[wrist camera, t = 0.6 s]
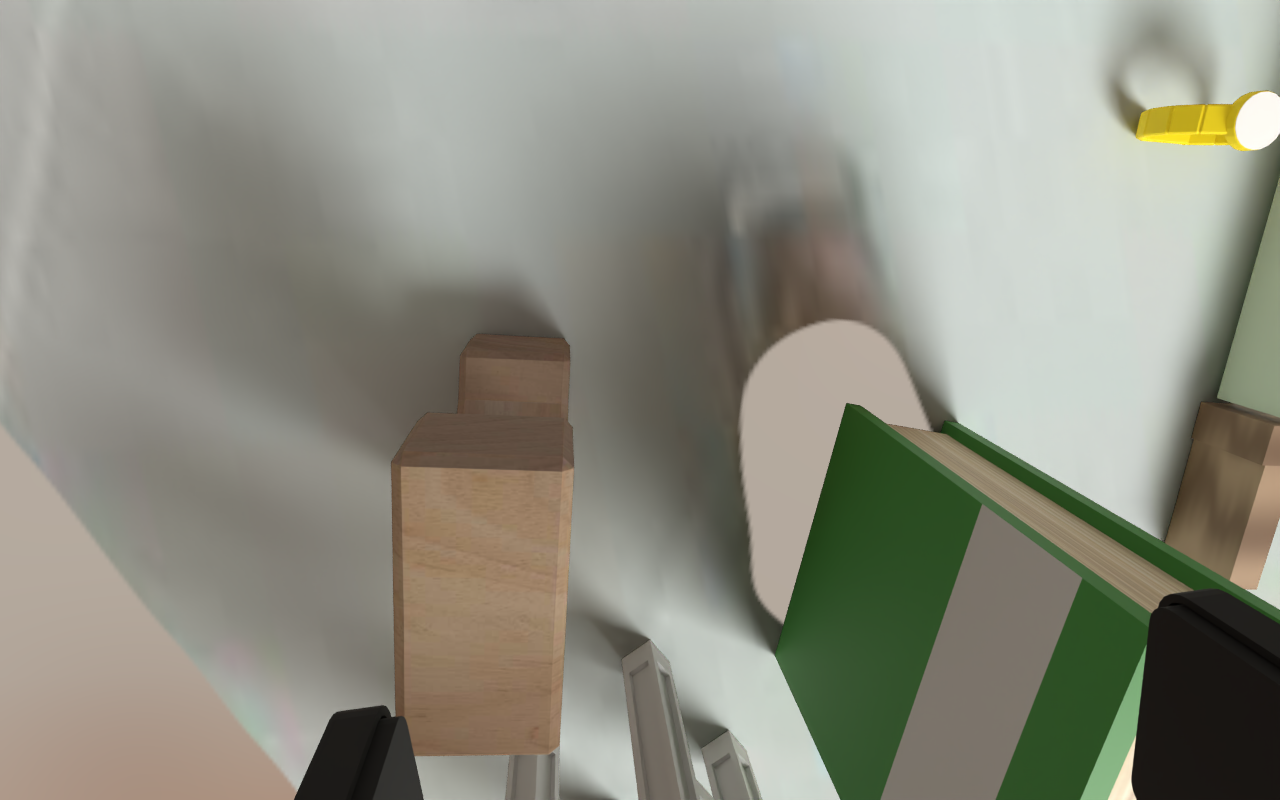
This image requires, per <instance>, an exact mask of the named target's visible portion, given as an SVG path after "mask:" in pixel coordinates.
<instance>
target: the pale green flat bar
mask: <svg viewBox="0 0 1280 800" xmlns="http://www.w3.org/2000/svg"><path fill="white" fill-rule="evenodd" d="M1217 398H1219V399H1222V400H1225V401H1228V402H1231V403H1235V404H1238V405H1241V406H1244V407H1247V408H1251V409H1254V410H1257V411H1260V412H1263V413H1267V414H1270V415H1273V416H1276V417H1279V418H1280V177H1279V181H1278V184H1277V188H1276V191H1275V195H1274V198H1273V202H1272V206H1271V209H1270V213H1269V216H1268V220H1267V223H1266V227H1265V230H1264V234H1263V237H1262V241H1261V244H1260V248H1259V251H1258V255H1257V258H1256V262H1255V265H1254V269H1253V272H1252V276H1251V279H1250V283H1249V287H1248V290H1247V294H1246V297H1245V301H1244V304H1243V308H1242V311H1241V315H1240V318H1239V322H1238V325H1237V329H1236V332H1235V336H1234V339H1233V343H1232V346H1231V350H1230V353H1229V357H1228V361H1227V364H1226V368H1225V371H1224V375H1223V378H1222V382H1221V385H1220V389H1219V392H1218V396H1217Z"/></svg>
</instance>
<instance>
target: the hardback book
mask: <svg viewBox="0 0 1280 800" xmlns="http://www.w3.org/2000/svg"><path fill="white" fill-rule="evenodd" d="M1209 588H1212V589H1220V590H1222V591H1224V592H1227V593H1229V594H1230V595H1232V596H1234V597H1235V598H1237V599H1239V600H1240V601H1242V602H1244V603H1245V604H1247V605H1249V606H1250V607H1252V608H1254V609H1255V610H1257V611H1259V612H1260V613H1262V614H1264V615H1265V616H1267V617H1269V618H1270V619H1272V620H1274V621H1275V622H1277V623H1279V624H1280V610H1279V609H1277V608H1276V607H1274V606H1272V605H1271V604H1269V603H1267V602H1265V601H1264V600H1262V599H1260V598H1259V597H1257V596H1255V595H1253V594H1252V593H1250V592H1248V591H1246V590H1245V589H1243V588H1241V587H1240V586H1238V585H1236V584H1234V583H1233V582H1231V581H1229V580H1228V579H1226V578H1224V577H1222V576H1221V575H1219V574H1217V573H1216V572H1214V571H1212V570H1210V569H1209V568H1207V567H1205V566H1203V565H1202V564H1200V563H1198V562H1197V561H1195V560H1193V559H1191V558H1190V557H1188V556H1186V555H1185V554H1183V553H1181V552H1179V551H1178V550H1176V549H1174V548H1173V547H1171V546H1169V545H1167V544H1166V543H1164V542H1162V541H1160V540H1159V539H1157V538H1155V537H1154V536H1152V535H1150V534H1148V533H1147V532H1145V531H1143V530H1142V529H1140V528H1138V527H1136V526H1135V525H1133V524H1131V523H1129V522H1128V521H1126V520H1124V519H1123V518H1121V517H1119V516H1117V515H1116V514H1114V513H1112V512H1111V511H1109V510H1107V509H1105V508H1104V507H1102V506H1100V505H1099V504H1097V503H1095V502H1093V501H1092V500H1090V499H1088V498H1086V497H1085V496H1083V495H1081V494H1080V493H1078V492H1076V491H1074V490H1073V489H1071V488H1069V487H1068V486H1066V485H1064V484H1062V483H1061V482H1059V481H1057V480H1056V479H1054V478H1052V477H1050V476H1049V475H1047V474H1045V473H1043V472H1042V471H1040V470H1038V469H1037V468H1035V467H1033V466H1031V465H1030V464H1028V463H1026V462H1025V461H1023V460H1021V459H1019V458H1018V457H1016V456H1014V455H1013V454H1011V453H1009V452H1007V451H1006V450H1004V449H1002V448H1000V447H999V446H997V445H995V444H994V443H992V442H990V441H988V440H987V439H985V438H983V437H982V436H980V435H978V434H976V433H975V432H973V431H971V430H970V429H968V428H966V427H964V426H963V425H961V424H959V423H956V422H950V421H944V424H943V427H942V430H941V433H937V432H931V431H925V430H920V429H914V428H908V427H903V426H897V425H890V424H886V423H884V422H883V421H882V420H880V419H879V418H877V417H876V416H874V415H873V414H871V413H870V412H869V411H868V410H866V409H865V408H863V407H862V406H860V405H854V404H849V403H846V406H845V410H844V413H843V417H842V420H841V424H840V427H839V431H838V435H837V438H836V442H835V445H834V449H833V452H832V456H831V459H830V463H829V466H828V470H827V473H826V477H825V481H824V484H823V488H822V491H821V494H820V498H819V501H818V505H817V509H816V512H815V516H814V519H813V523H812V526H811V530H810V533H809V537H808V540H807V544H806V547H805V551H804V554H803V558H802V562H801V565H800V569H799V572H798V576H797V579H796V583H795V586H794V590H793V593H792V597H791V600H790V604H789V607H788V611H787V614H786V618H785V621H784V625H783V628H782V632H781V635H780V639H779V642H778V646H777V650H776V653H775V657H776V659H777V661H778V663H779V666H780V668H781V670H782V672H783V674H784V677H785V679H786V681H787V683H788V685H789V688H790V690H791V692H792V694H793V696H794V699H795V701H796V703H797V705H798V707H799V710H800V712H801V714H802V716H803V718H804V721H805V723H806V725H807V727H808V729H809V732H810V734H811V736H812V738H813V740H814V743H815V745H816V747H817V749H818V751H819V753H820V756H821V758H822V760H823V762H824V764H825V767H826V769H827V771H828V773H829V775H830V778H831V780H832V782H833V784H834V786H835V789H836V791H837V793H838V795H839V797H840V800H1137V799H1136V797H1135V795H1134V792H1133V788H1132V784H1131V775H1132V767H1133V758H1134V749H1135V741H1136V732H1137V723H1138V715H1139V706H1140V698H1141V689H1142V680H1143V672H1144V663H1145V654H1146V646H1147V637H1148V628H1149V620H1150V616H1151V613H1152V612H1153V611H1154V610H1155V609H1157V608H1158V606H1159V602H1160V601H1161V600H1162V599H1163V597H1164V596H1167V595H1169V594H1173V593H1180V592H1187V591H1194V590H1201V589H1209Z"/></svg>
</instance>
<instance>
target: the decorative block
mask: <svg viewBox="0 0 1280 800" xmlns="http://www.w3.org/2000/svg"><path fill="white" fill-rule="evenodd" d="M569 377H570V345H569V344H568V343H567V342H566V341H565V340H564V338H545V337H526V336H507V335H489V334H476V335H475V336H474V337H473V338H472V339H471V340H470V341H469V343H468V344H467V346H466V347H465V349H464V350H463V352H462V353H461V355H460V368H459V396H458V409H457V414H456V413H430V412H427V413H426V414H425V415H424V416H423V417H422V418H421V419H419V420H418V421H417V423H416V424H415V426H414V427H413V429H412V431H411V432H410V434H409V435H408V437H407V438H406V440H405V441H404V443H403V444H402V446H401V448H400V449H399V451H398V452H397V454H396V455H395V457H394V458H393V460H392V461H391V480H392V542H393V604H394V657H395V710H396V717H397V716H403V717H405V719H406V721H407V725H408V729H409V734H410V738H411V743H412V748H413V752H414V756H465V755H549V754H550V753H551V752H552V751H554V750H555V749H556V748H557V747H558V746H559V744H560V725H561V706H562V687H563V668H564V649H565V630H566V611H567V592H568V573H569V554H570V534H571V515H572V496H573V477H574V454H573V427H572V426H571V425H570V424H569V423H568V399H569Z"/></svg>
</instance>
